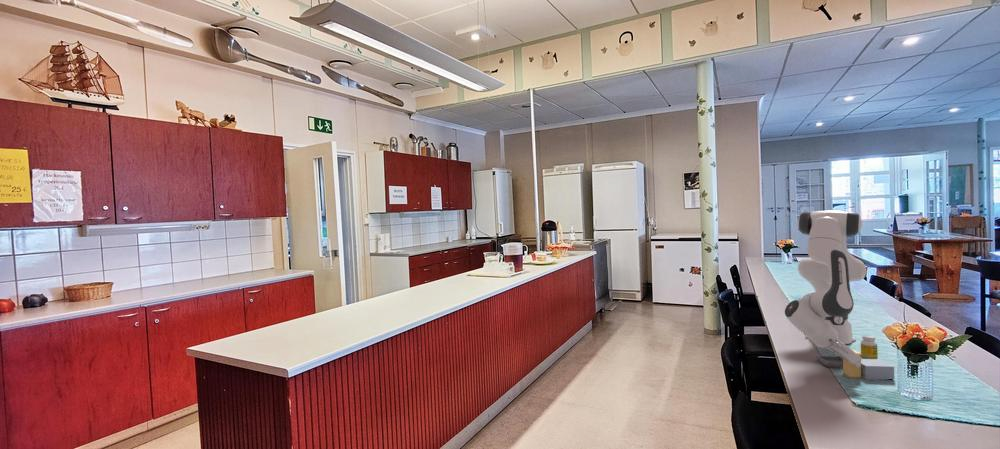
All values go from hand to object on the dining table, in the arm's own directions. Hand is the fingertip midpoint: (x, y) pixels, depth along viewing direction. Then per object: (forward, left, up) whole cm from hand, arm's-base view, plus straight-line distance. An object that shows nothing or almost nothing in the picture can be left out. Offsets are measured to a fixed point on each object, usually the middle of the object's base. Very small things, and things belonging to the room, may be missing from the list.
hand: (853, 362), depth 170 cm
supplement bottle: (-19, +15, -5) cm, 25 cm away
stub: (0, -1, -5) cm, 5 cm away
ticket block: (0, +6, -5) cm, 8 cm away
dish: (-12, -1, -5) cm, 13 cm away
